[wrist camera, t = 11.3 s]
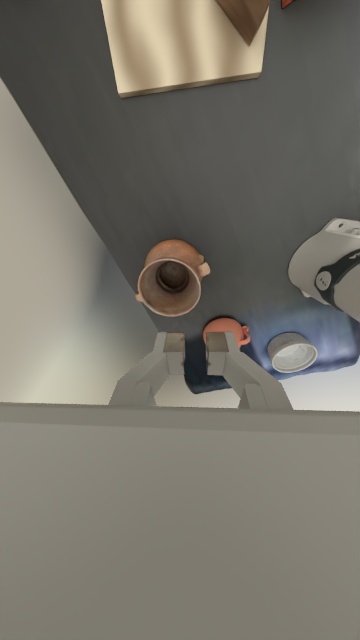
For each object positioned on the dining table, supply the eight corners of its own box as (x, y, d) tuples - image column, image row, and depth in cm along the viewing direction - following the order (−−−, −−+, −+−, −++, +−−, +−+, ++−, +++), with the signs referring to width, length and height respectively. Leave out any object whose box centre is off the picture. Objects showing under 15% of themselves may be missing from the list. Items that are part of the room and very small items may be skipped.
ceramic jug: (194, 223, 38) (196, 233, 27) (214, 279, 46) (222, 306, 34) (129, 256, 43) (106, 276, 32) (156, 302, 51) (146, 332, 39)
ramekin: (266, 330, 56) (275, 345, 50) (310, 326, 54) (324, 341, 48) (261, 358, 63) (269, 374, 57) (299, 355, 62) (310, 371, 56)
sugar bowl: (197, 320, 54) (199, 342, 46) (242, 307, 51) (253, 328, 42) (208, 346, 60) (211, 370, 52) (248, 336, 57) (259, 359, 49)
